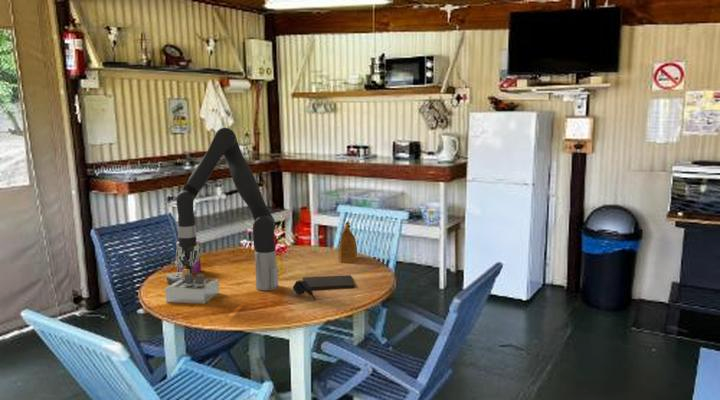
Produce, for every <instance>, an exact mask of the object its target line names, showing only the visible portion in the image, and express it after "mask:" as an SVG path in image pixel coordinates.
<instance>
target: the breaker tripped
mask: <svg viewBox="0 0 720 400" xmlns="http://www.w3.org/2000/svg"><path fill="white" fill-rule="evenodd" d="M186 274H190V269H183V270H182V277H183V278H181V280H183V281H185V275H186Z"/></svg>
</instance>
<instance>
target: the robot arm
mask: <svg viewBox="0 0 720 400" xmlns="http://www.w3.org/2000/svg"><path fill="white" fill-rule="evenodd" d="M242 153H243V152H242V151H241V148H240V144H239V143H238V139H237V135H236V133H235V131H234V130H232V129H231V128H228V127H221V128H219V129H217V130H216V132H215V133H214V136H213V138H212V140H211V142H210V145H209V147H208V149H207V151H206V153H205V154H204V156H203V157H202V159H201V160H200V162H199V163H198V165H197V166H196V167H195V169H194V170H193V171H192V173H191V175H190V176H189V177H188V180H187V181H186V183H185V184H184V186H183V187H182V189H181V190H180V191H179V193H178V194H177V196H176V208H177V209H176V210H177V215H178V216H177V223H178V233H177V234H178V236H177V237H178V242H179V247H181V248H182V256H179V259H180V261H181V262H182V264H183V266H186V269H190V274H193V273H192V265H193V263H194V262H195V259H196V255H197V250H194V246H196V245H197V228H196V215H195V212H194V201H195V199H196V197H197V196H198V194H199V192H200V191H201V190H202V189H203V188H204V187H205V185H206V183H207V182H208V181H209V179H210V178H211V175H212V174H213V171H214V170H215V168H216V166H217V164H218V163H219V161H220V160H221V158H222V157H223V156H224V158H225V160H226V162H227V165H228V169H229V173H230V176H231V178H232V181H233V183H234V186H235V188H236V190H237V193H238V194H239V196H240V197H241V198H242V200H243V201H244V202H245V204H246V205H247V206H248V208H249V210H250V212H251V214H252V218H253V221H254V222H253V224H252V239H253V247H254V263H255V266H254V267H255V289H256V290H259V291H271V290H276V289H277V287H278V286H279V276H278V275H279V274H278V273H279V271H278V268H279V267H278V265H277V256H276V255H277V254H276V253H277V251H276V243H275V229H276V221H275V219H274V217H273V215H272V213H271V211H270V210H269V208H268V207H267V205H266V202H265V201H264V197H263V194H262V191H261V189H260V187H259V185H258V182H257V179H256V177H255V176H254V173H253V172H252V169H251V168H250V166H249V164H248V162H247V160H246V158H245V157H244V156H243V154H242Z"/></svg>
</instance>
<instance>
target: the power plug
mask: <svg viewBox="0 0 720 400" xmlns="http://www.w3.org/2000/svg"><path fill="white" fill-rule="evenodd" d="M292 289H293V295H296V294H297V295H304V294H305V293H306V294H308V295H309V296H310V297H312V298H313V300H315V301H316V300H317V298H316V297H315V296H314V291H313V290H311V288H310V287H309V285H308V284H307V282H306V281H303V279H302V280H301V279H300V280H296V281H295V282H294V284H293V286H292Z"/></svg>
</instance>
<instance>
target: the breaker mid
mask: <svg viewBox="0 0 720 400" xmlns="http://www.w3.org/2000/svg"><path fill="white" fill-rule="evenodd" d="M193 279H194V273H192V274H186V275H185V283H184V286H192V285H193V284H195V282H193Z"/></svg>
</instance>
